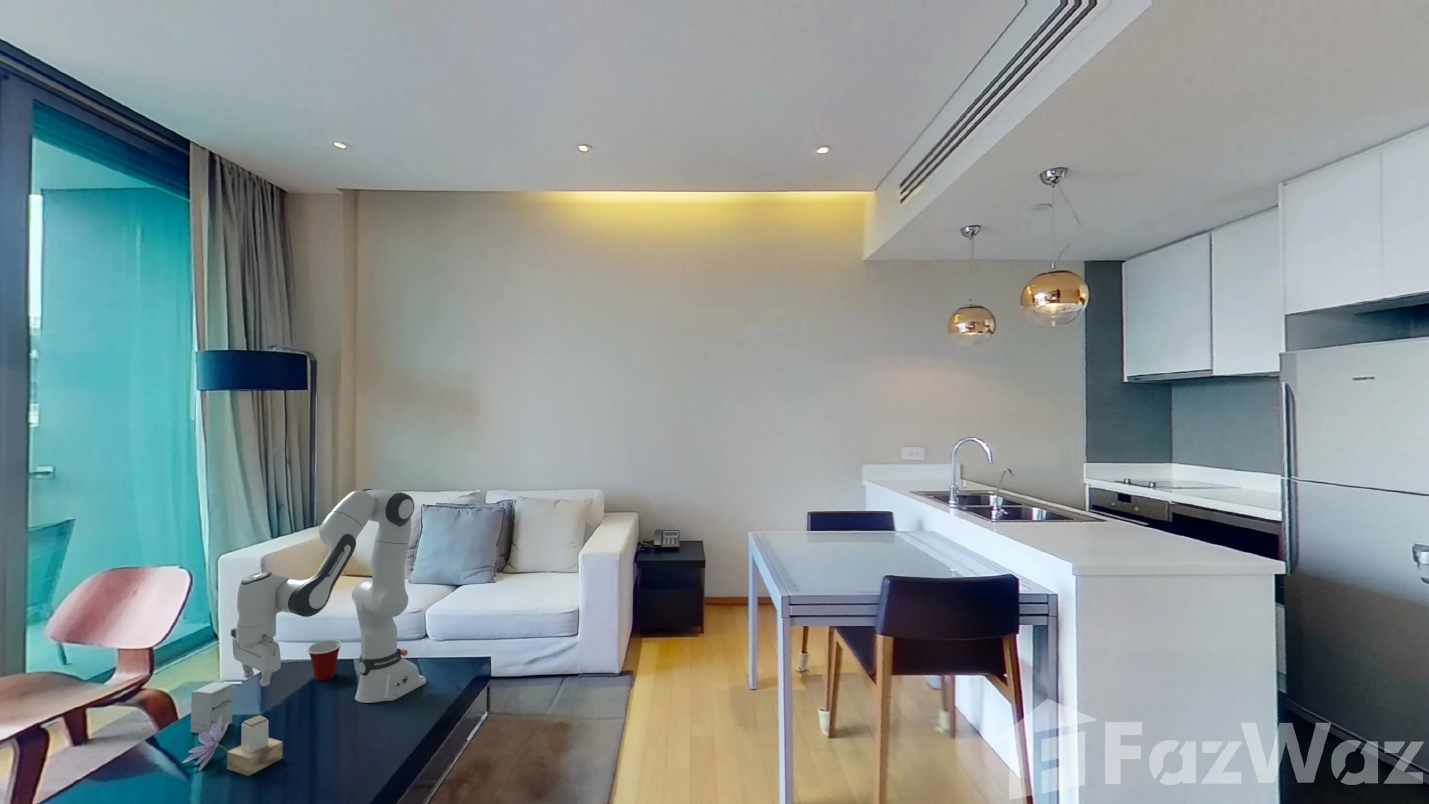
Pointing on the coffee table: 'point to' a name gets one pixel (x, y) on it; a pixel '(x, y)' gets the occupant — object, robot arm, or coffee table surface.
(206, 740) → the water lily
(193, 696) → the supplement box
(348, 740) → the coffee table surface
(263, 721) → the pale two-tone block
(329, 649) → the plastic cup
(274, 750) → the oak block
